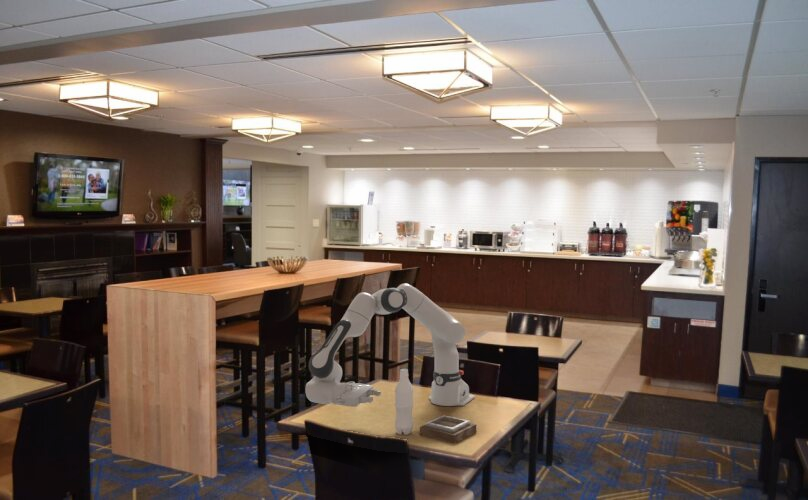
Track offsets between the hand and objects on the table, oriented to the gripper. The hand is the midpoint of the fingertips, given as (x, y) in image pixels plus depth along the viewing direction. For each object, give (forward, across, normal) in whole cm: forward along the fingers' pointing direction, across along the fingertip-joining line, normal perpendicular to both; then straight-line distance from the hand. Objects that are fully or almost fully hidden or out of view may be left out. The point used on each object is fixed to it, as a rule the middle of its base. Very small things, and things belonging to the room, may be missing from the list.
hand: (376, 396), depth 256 cm
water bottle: (+11, 0, +14) cm, 18 cm away
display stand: (+28, +4, +14) cm, 31 cm away
